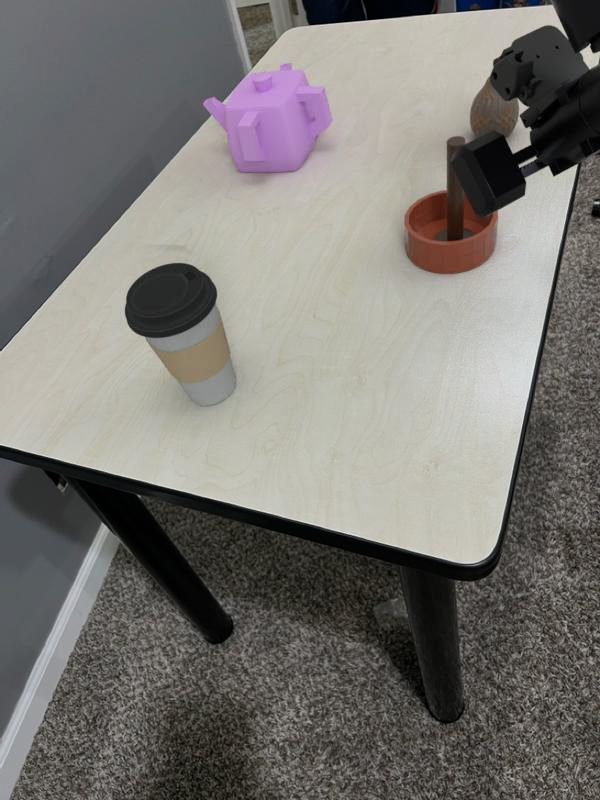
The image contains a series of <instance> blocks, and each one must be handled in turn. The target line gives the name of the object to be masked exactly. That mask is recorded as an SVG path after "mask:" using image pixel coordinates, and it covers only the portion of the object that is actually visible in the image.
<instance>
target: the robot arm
mask: <svg viewBox="0 0 600 800" xmlns="http://www.w3.org/2000/svg"><path fill="white" fill-rule="evenodd" d="M550 2H551V4H552V5H551V6H552V7H553V9H554V11H555V14H556V16H557V18H558V20H559V22H560V24H561V26H562V28H563V32H564V33H563V32H562V30H560V28H558V27H557V26H555V25H550V24H547V25H543V26H540V27H538V28H536V29H534V30H532V31H530V32H528V33H526V34H524V35H521V36H519V37H518V38H515V39H514V40H513V41H512V42H511V45H510V46H508V47H506V48H504V49H503V50H502V52H501V54H500V56H498V57H496V58H493V61H492V69H491V73H490V75H489V77H490V83H491V85H492V86H493V88H494V89H495V90H496V91H497V92H498V94H499V95H500V96H501V97H502V98H503V99H504V100H505V101H510V100H512V99H514V98H518V101H519V102H520V103H521V104H522V105H523V106H525V107H527V108H526V109H525V110H524V111H523V112H521V113H519V116H518V117H519V118H520V120H521V123H522V124H523V126H524V128H525V129H529V128H530V131H529V142H530V144H529V145H527V146H525V147H524V148H521V149H519V150H518V151H516V152H514V153H513V151H512V149H511V147H510V145H509V142H508V140H507V138H505V136H504V135H503V134H501V133H499V132H497V131H495V130H492V131H490V132H488V133H487V134H485V135H483V136H481V137H479V138H474V139H473V140H471V141H468V142H467V143H465V145H463V146H461V147H460V148H459V149H458V150H457V151H456V152H455V153H453V154H452V158H451V161H450V164H451V166H452V168H453V170H454V172H455V174H456V176H457V178H458V180H459V182H460V184H461V186H462V188H463V192H464V194H465V196H466V198H467V199H468V200H469V202H470V204H471V207H472V209H473V211H474V213H475V215H477V216H479V217H482V218H485V217H487V216H488V215H490V214H492V213H494V212H496V211H498V212H499V211H500V210H501V209H503V208H505V207H507V206H510V205H511V204H512V203H514V202H516V201H518V200H520V199H522V198H523V197H524V196H526V190H527V180H526V178H528V177H531V176H532V175H534V174H536V173H538V172H540V171H542V170H544V169H546V168H549V170H550V172H551V174H552V177H554V178H555V177H556V176H558V175H560V174H562V173H564V172H565V171H568V170H569V169H571V168H573V167H576V166H577V165H578V164H580V163H583V162H584V161H586V160H588V159H591V158H592V157H595V156H596V157H597V156H600V62H599V63H597V64H596V65H595V66H592V67H591V68H590V67H589V66H588V64H587V63H586V61H584V56H583V54H582V53H581V52H582V51H584V50H585V49H586V48H588V47H589V48H590V51H591V53H592V54H597V53H599V52H600V0H550ZM534 158H536V159H534ZM532 159H534V160H532ZM530 160H532V161H531V162H528V161H530ZM526 162H528V163H526ZM524 163H526V164H524ZM522 164H524V165H522ZM520 165H522V166H521V167H520Z"/></svg>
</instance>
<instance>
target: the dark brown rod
mask: <svg viewBox="0 0 600 800" xmlns="http://www.w3.org/2000/svg"><path fill="white" fill-rule="evenodd" d="M465 144H466V139H465V137H464V136H461V135H456V136H455V135H454V136H451V137H449V138H448V139H447V140H446V190H447V229H444V230H442V231H441V232H439V233H438V234H437V235H436V237H435V241H443V242H445V241H458V240H462V239H466V238H470V237H472V236H474V235H475V234H474V233H473V232H472V231H471V230H469V229H467V228H464V192H463V188H462V186H461V184H460V182H459V180H458V178H457V176H456V174H455V172H454V170H453V168H452V166H451V164H450V161H451V158H452V154H453V153H455V152H456V151H457V150H458V149H459V148H460V147H461V146H463V145H465Z"/></svg>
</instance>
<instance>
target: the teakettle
mask: <svg viewBox="0 0 600 800" xmlns="http://www.w3.org/2000/svg"><path fill="white" fill-rule="evenodd" d="M328 99H329V98H328V95H327V91H326V88H325V85H324V86H323V85H321V86H317V85H315V86H314V85H313V86H310V83H309V80H308V78H307V76H306V74H305V72H304V70H302V69H293V66H292V62H283V63H282V64H280V65H279V70H270V71H268V70H267V71H259V72H257V71H256V72H250V73H249V74H247V75H246V76H245V77H244V78H243V79H242V80H241V81H240V82H239V84H238V85H237V86H236V87H235V89H234V90H233V92H232V93H231V94H230V96H229V98H228V99H227V101H226V102H225V103H226V104H225V103H223V102H222V101H220V100H218V99H217V98H216V97H215V96H212V97H209V98H207V99H205V100H204V101H203V103H202V105H203V107H204V108H205V109H206V110H207V112H208V113H209V114H210V115H211V116H212V117H213V118H214V120H215V121H216V122H217V124H219V125H220V127H221V128H222V129H223V130H224V131H225V133H226V139H227V144H228V147H229V153H230V157H231V160H232V162H233V164H234V165H235V167H236V169H237V170H238V171H239V172H241V173H291V172H295V171H298V170H299V169H300V168H301V167H302V166H303V164H305V162H306V160H307V159H308V157H309V156H310V155H311V153H312V151H313V149H314V147H315V145H316V141H317V139H318V136H319V134H321V133H323V131H325V130H327V129H328V128H330V126H331V124H332V122H333V120H334V119H333V115H332V112H331V107H330V103H329V100H328Z"/></svg>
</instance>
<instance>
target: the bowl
mask: <svg viewBox="0 0 600 800" xmlns="http://www.w3.org/2000/svg"><path fill="white" fill-rule="evenodd" d="M403 216H404V219H403V229H404V242H405V243H404V245H405V251H406V255H407V257H408V259H409V260H410V261H411V263H413V265H415V266H416V267H417V268H420V269H421V270H424V271H426V272H430V273H435V274H442V275H446V274H447V275H449V274H459V273H463V272H467V271H471V270H473V269H475V268H477V267H480V266H481V265H483V264H484V263H486V262H487V261H488V260H489V259H490V258H491V257H492V256H493V254H494V252H495V249H496V245H497V240H498V239H497V238H498V224H499V210H498V211H496V212H494V213H492V214H490V215H488V216H487V217H485V218H482V217H479V216H477V215H475V213H474V211H473V209H472V207H471V204H470V202H469V200H468V199H467V198H466V196H465V194H464V228H467V229H469V230H471V231H472V232H473V233H474V234H475V235H474V236H472V237H470V238H466V239H462V240H458V241H445V242H443V241H435V237H436V235H437V234H438V233H439V232H441V231H442V230H444V229H447V189H443V190H439V191H436V192H431V193H429V194H426V195H424V196H422V197H420V198H418V199H417V200H416V201H415V202H413V203H412V204H411V205H409V207H408V208H407V210H406V212H405V213H404V215H403Z"/></svg>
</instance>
